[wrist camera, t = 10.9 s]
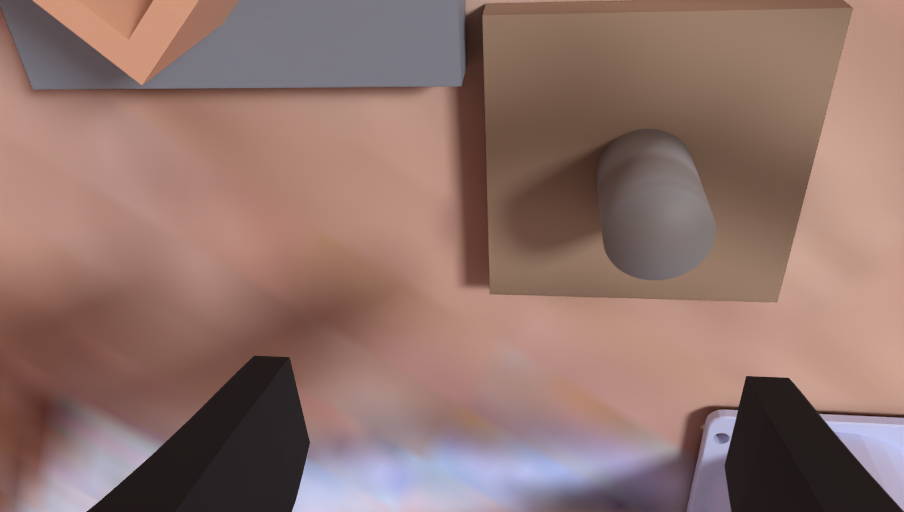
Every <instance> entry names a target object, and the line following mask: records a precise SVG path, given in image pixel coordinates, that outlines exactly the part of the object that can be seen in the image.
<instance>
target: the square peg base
mask: <svg viewBox="0 0 904 512" xmlns="http://www.w3.org/2000/svg"><path fill="white" fill-rule="evenodd" d="M0 7H1V9H2V12H3V14H4V17H5V20H6V22H7V25H8V27H9V30H10V32H11V35H12V37H13V40H14V42H15V45H16V47H17V50H18V52H19V55H20V57H21V60H22V62H23V65H24V68H25V70H26V73H27V75H28V78H29V80H30V83H31V85H32V88H33V90H40V89H175V88H309V87H444V86H462V82H463V79H464V75H465V72H466V68H467V40H466V15H465V0H239V2H238V3H237V4H236V6H235V7H234V9H233V10H232V11H231V13H230V14H229V16H228V17H227V19H226V20H225V21H224V23H223V24H222V25H220V26H219V27H218V28H216V29H215V30H214V31H213V32H211V33H210V34H209V35H207V36H206V37H205V38H203V39H202V40H201V41H199V42H198V43H197V44H196V45H194V46H193V47H192V48H190V49H189V50H188V51H186V52H185V53H184V54H183V55H181V56H180V57H179V58H177V59H176V60H175V61H173V62H172V63H171V64H169V65H168V66H167V67H166V68H164V69H163V70H162V71H160V72H159V73H158V74H156V75H155V76H154V77H152V78H151V79H150V80H149V81H147V82H146V83H145V84H143V85H141V84H139V83H138V82H137V81H136V80H134V79H133V78H132V77H130V76H129V75H128V74H127V73H125V72H124V71H123V70H121V69H120V68H119V67H118V66H116V65H115V64H114V63H112V62H111V61H110V60H109V59H107V58H106V57H105V56H103V55H102V54H101V53H100V52H98V51H97V50H96V49H94V48H93V47H92V46H90V45H89V44H88V43H87V42H85V41H84V40H83V39H81V38H80V37H79V36H78V35H76V34H75V33H74V32H72V31H71V30H70V29H69V28H67V27H66V26H65V25H63V24H62V23H61V22H60V21H58V20H57V19H56V18H54V17H53V16H52V15H51V14H49V13H48V12H47V11H45V10H44V9H43V8H42V7H40V6H39V5H38V4H36V3H35V2H34V1H33V0H0Z"/></svg>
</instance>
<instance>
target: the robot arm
mask: <svg viewBox="0 0 904 512" xmlns="http://www.w3.org/2000/svg"><path fill="white" fill-rule="evenodd" d="M719 433H724V434H722V435H716V434H719ZM309 444H310V441H309V437H308V433H307V429H306V425H305V420H304V416H303V412H302V408H301V404H300V400H299V395H298V391H297V387H296V383H295V379H294V374H293V370H292V366H291V362H290V358H289V357H269V356H254V357H253V358H251V359H250V360H249V361H248V362H247V363H246V364H245V365H244V366H243V367H242V368H241V369H240V370H239V371H238V372H237V373H236V374H235V375H234V376H233V377H232V378H231V379H230V380H229V381H228V382H227V383H226V384H225V385H224V386H223V387H222V388H221V389H220V390H219V391H218V392H217V393H216V394H215V395H214V396H213V397H212V398H211V399H210V400H209V401H208V402H207V403H206V404H205V405H204V406H203V407H202V408H201V409H200V410H199V411H198V412H197V413H196V414H195V415H194V416H193V417H192V418H191V419H189V420H188V421H187V422H186V423H185V424H184V425H183V426H182V427H181V428H180V429H179V430H178V431H177V432H176V433H175V434H174V435H173V436H172V437H171V438H170V439H169V440H167V441H166V442H165V443H164V444H163V445H162V446H161V447H160V448H159V449H158V450H157V451H156V452H155V453H154V454H153V455H152V456H151V457H149V458H148V459H147V460H146V461H145V462H144V463H143V464H142V465H140V466H139V467H138V468H137V469H136V470H135V471H134V472H133V473H131V474H130V475H129V476H128V477H127V478H126V479H125V480H123V481H122V482H121V483H120V484H119V485H118V486H117V487H115V488H114V489H113V490H112V491H111V492H110V493H109V494H108V495H106V496H105V497H104V498H103V499H102V500H100V501H99V502H98V503H97V504H96V505H94V506H93V507H92V508H91V509H90V510H88V511H87V512H292V509H293V506H294V504H295V501H296V497H297V493H298V489H299V486H300V482H301V478H302V474H303V470H304V465H305V461H306V457H307V453H308V448H309ZM686 512H904V418H895V417H874V416H852V415H831V414H819V413H818V412H817V411H816V410H815V408H814V407H813V406H812V405H811V404H810V402H809V401H808V400H807V399H806V397H805V396H804V395H803V394H802V393H801V391H800V390H799V389H798V388H797V387H796V385H795V384H794V383H793V382H792V381H791V380H790V379H789V378H776V377H752V376H746V380H745V384H744V388H743V392H742V396H741V400H740V404H739V408H738V410H725V409H723V410H716V411H714V412H712V413H710V414H709V415H708V416H707V418H706V421H705V426H704V431H703V436H702V440H701V445H700V450H699V455H698V459H697V464H696V469H695V474H694V478H693V483H692V488H691V492H690V497H689V502H688V507H687V511H686Z"/></svg>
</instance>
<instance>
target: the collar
mask: <svg viewBox="0 0 904 512" xmlns="http://www.w3.org/2000/svg"><path fill="white" fill-rule="evenodd" d="M33 1H34V2H35V3H36V4H38V5H39V6H40V7H42V8H43V9H44V10H45V11H47V12H48V13H49V14H51V15H52V16H53V17H54V18H56V19H57V20H58V21H60V22H61V23H62V24H63V25H65V26H66V27H67V28H69V29H70V30H71V31H72V32H74V33H75V34H76V35H78V36H79V37H80V38H81V39H83V40H84V41H85V42H87V43H88V44H89V45H90V46H92V47H93V48H94V49H96V50H97V51H98V52H100V53H101V54H102V55H103V56H105V57H106V58H107V59H109V60H110V61H111V62H112V63H114V64H115V65H116V66H118V67H119V68H120V69H121V70H123V71H124V72H125V73H127V74H128V75H129V76H130V77H132V78H133V79H134V80H136V81H137V82H138V83H139V84H141V85H143V84H145V83H146V82H147V81H149V80H150V79H151V78H152V77H154V76H155V75H156V74H158V73H159V72H160V71H162V70H163V69H164V68H166V67H167V66H168V65H169V64H171V63H172V62H173V61H175V60H176V59H177V58H179V57H180V56H181V55H183V54H184V53H185V52H186V51H188V50H189V49H190V48H192V47H193V46H194V45H196V44H197V43H198V42H199V41H201V40H202V39H203V38H205V37H206V36H207V35H209V34H210V33H211V32H213V31H214V30H215V29H216V28H218V27H219V26H220V25H222V24H223V23H224V21H225V20H226V19H227V17H228V16H229V14H230V13H231V11H232V10H233V9H234V7H235V6H236V4H237V3H238V2H239V0H33Z"/></svg>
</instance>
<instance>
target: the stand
mask: <svg viewBox="0 0 904 512" xmlns="http://www.w3.org/2000/svg"><path fill="white" fill-rule="evenodd" d="M852 10H853V8H852V7H851V6H850V5H849V4H847V3H846V2H845V1H843V0H631V1H586V2H540V3H494V4H485V8H484V11H483V15H482V19H483V56H484V94H485V131H486V168H487V206H488V243H489V280H490V294H503V295H538V296H572V297H607V298H642V299H676V300H711V301H745V302H777V301H778V297H779V294H780V290H781V286H782V282H783V278H784V274H785V270H786V266H787V262H788V259H789V255H790V251H791V247H792V243H793V239H794V235H795V231H796V227H797V224H798V220H799V216H800V212H801V208H802V204H803V200H804V196H805V193H806V189H807V185H808V181H809V177H810V173H811V169H812V165H813V161H814V158H815V154H816V150H817V146H818V142H819V138H820V134H821V130H822V126H823V123H824V119H825V115H826V111H827V107H828V103H829V99H830V95H831V92H832V88H833V84H834V80H835V76H836V72H837V68H838V64H839V60H840V57H841V53H842V49H843V45H844V41H845V37H846V33H847V29H848V25H849V22H850V18H851V14H852Z"/></svg>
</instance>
